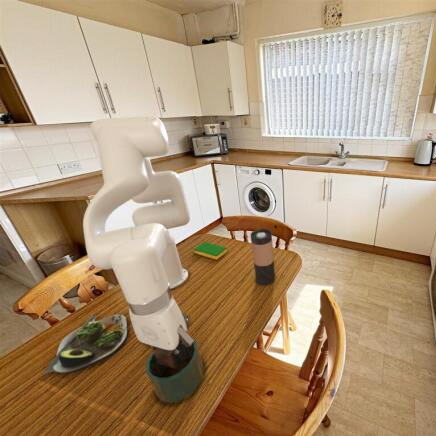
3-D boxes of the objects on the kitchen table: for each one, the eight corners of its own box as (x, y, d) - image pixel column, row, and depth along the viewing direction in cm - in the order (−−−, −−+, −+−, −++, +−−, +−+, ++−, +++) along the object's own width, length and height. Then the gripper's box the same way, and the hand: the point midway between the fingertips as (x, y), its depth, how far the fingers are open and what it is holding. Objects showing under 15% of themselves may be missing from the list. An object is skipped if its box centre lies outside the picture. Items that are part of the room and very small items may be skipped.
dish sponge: (217, 260, 105) (216, 255, 104) (194, 253, 111) (193, 248, 110) (227, 251, 111) (226, 247, 110) (205, 245, 117) (204, 241, 116)
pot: (145, 395, 56) (134, 372, 52) (177, 353, 65) (170, 331, 62) (184, 410, 53) (175, 387, 49) (212, 363, 62) (206, 341, 59)
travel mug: (272, 286, 89) (268, 239, 80) (252, 283, 90) (246, 238, 82) (277, 273, 96) (274, 229, 87) (259, 271, 97) (254, 228, 89)
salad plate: (62, 331, 73) (55, 320, 71) (129, 307, 81) (125, 297, 79) (43, 388, 58) (33, 376, 56) (128, 352, 66) (122, 340, 64)
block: (158, 363, 54) (153, 350, 53) (172, 346, 58) (167, 334, 56) (174, 368, 53) (169, 355, 51) (187, 351, 57) (183, 338, 55)
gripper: (101, 303, 47) (131, 363, 55) (171, 321, 42) (193, 383, 50) (134, 279, 53) (156, 335, 61) (198, 292, 49) (213, 351, 57)
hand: (172, 356), depth 56 cm, fingers closed on block, 4 cm apart
